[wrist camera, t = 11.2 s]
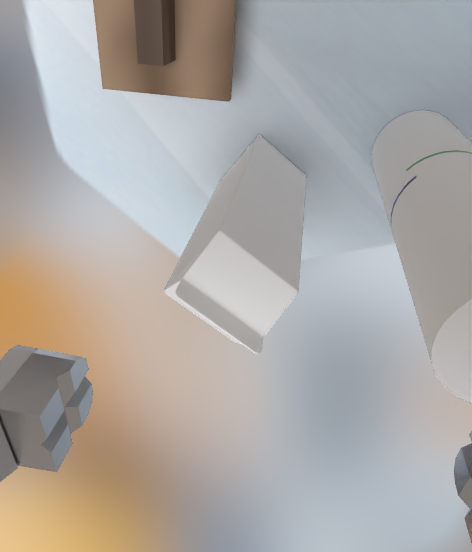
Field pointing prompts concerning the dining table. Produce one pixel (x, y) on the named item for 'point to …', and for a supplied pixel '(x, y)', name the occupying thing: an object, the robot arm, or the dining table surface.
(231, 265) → the milk
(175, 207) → the dining table surface
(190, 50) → the lid
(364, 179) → the dining table surface
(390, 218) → the cylindrical container
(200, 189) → the dining table surface
